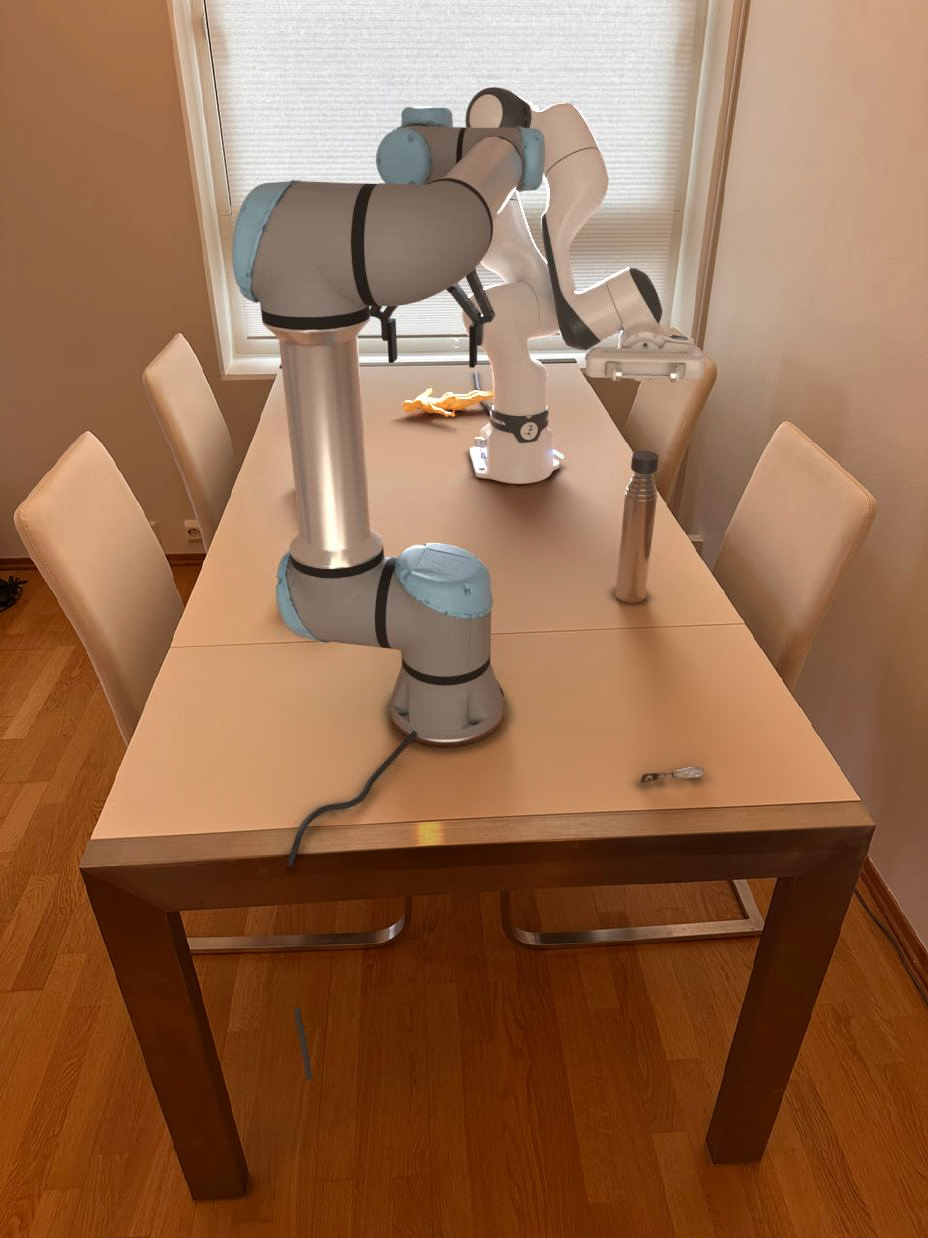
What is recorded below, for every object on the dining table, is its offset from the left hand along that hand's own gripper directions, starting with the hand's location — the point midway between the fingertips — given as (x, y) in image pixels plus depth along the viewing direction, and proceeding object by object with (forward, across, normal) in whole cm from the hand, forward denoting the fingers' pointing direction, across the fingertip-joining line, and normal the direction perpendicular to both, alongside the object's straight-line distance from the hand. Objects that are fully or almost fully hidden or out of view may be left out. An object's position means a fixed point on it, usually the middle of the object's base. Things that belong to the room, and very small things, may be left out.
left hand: (432, 363), depth 147 cm
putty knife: (+33, -43, +57) cm, 79 cm away
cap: (+9, -36, +13) cm, 39 cm away
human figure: (+33, +14, -71) cm, 80 cm away
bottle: (+33, -36, +13) cm, 50 cm away
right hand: (+3, -34, -8) cm, 36 cm away
